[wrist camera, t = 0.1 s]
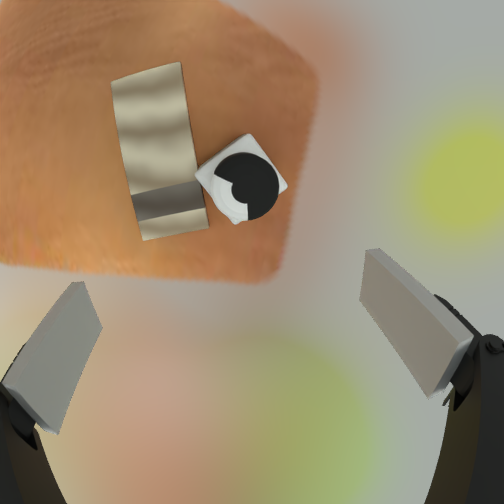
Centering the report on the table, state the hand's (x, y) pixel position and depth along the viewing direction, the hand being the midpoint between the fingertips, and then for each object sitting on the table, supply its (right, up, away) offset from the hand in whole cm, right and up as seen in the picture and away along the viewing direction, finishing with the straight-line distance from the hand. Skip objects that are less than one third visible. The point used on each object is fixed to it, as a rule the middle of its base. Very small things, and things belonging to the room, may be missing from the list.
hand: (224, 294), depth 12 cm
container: (-1, +13, +25) cm, 28 cm away
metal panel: (-12, +16, +22) cm, 29 cm away
